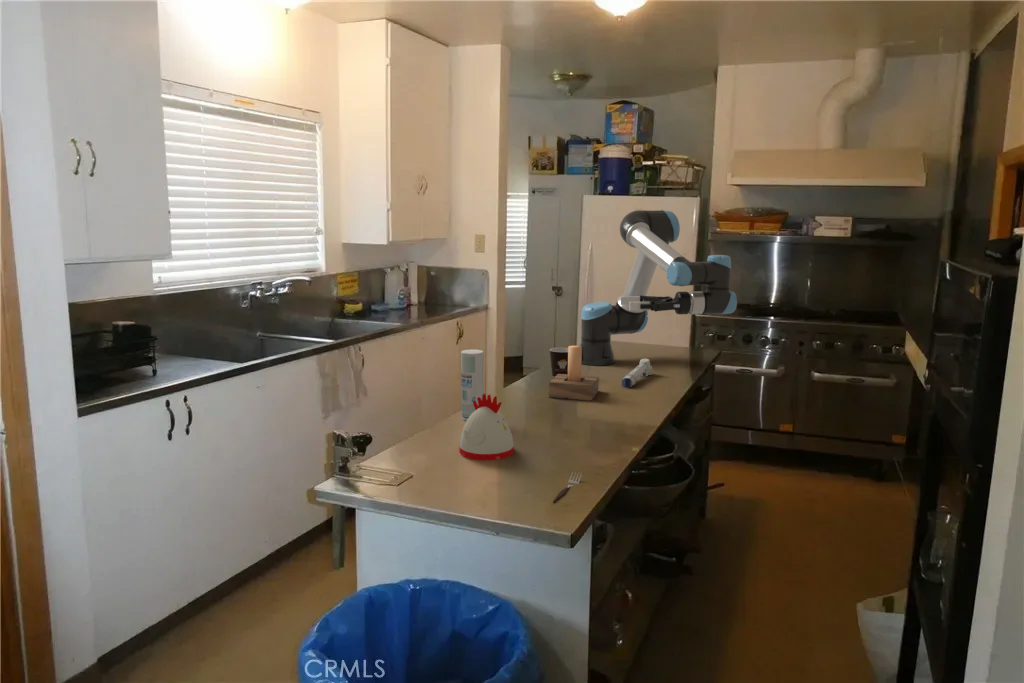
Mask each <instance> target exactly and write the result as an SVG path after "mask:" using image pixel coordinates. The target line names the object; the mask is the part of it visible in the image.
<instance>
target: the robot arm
mask: <svg viewBox="0 0 1024 683" xmlns="http://www.w3.org/2000/svg"><path fill="white" fill-rule="evenodd" d="M680 228H681V227H680V222H679V219H678V217H677V215H676V214H675V213H674V212H673V211H671V210H664V209H660V210H647V209H646V210H642V209H641V210H640V209H639V210H633V211H631V212H629V213H627V214H626V215H625V216H624V217H623V218H622V220H621V222H620V225H619V233H620V236H621V238H622V240H623V241H624V242H625V243H626V245H628V246H630V247H631V248H634V249H637V252H636V254H635V258H634V262H633V264H632V266H631V267H632V268H631V271H630V273H629V276H628V278H627V279H628V280H627V282H626V285H625V289H624V291H623V294H622V295H620V296H619V297H618V298H617V299H616V302H615V305H612V303H611V302H609V301H608V302H607V301H600V302H597V301H596V302H591V303H587V304H586V305H584V306H583V307H582V309H581V316H580V318H581V324H580V325H581V329H580V330H581V333H580V338H581V339H580V340H581V341H580V345H579V346H581V347H582V355H583V361H582V362H581V365H587V366H607V365H613V364H614V363H615V354H614V351H613V347H612V343H611V341H612V340H611V339H612V336H613V335H624V334H627V335H628V334H629V335H630V334H637V333H641V332H642V331H643V330H644V329H645V328H646V326H647V324H648V321H649V317H648V315H649V313H648V312H649V311H652V312H656V313H657V312H664V311H675V312H674V313H676V314H677V315H688V314H689V315H694V316H695V317H698V315H728V314H733V313H734V312H735V311H736V310H737V305H738V300H737V298H738V297H737V294H736V293H735V292H734V291H731V289H730V284H731V283H730V281H731V274H732V272H731V271H732V261H731V258H732V257H731V256H729V255H727V254H726V255H723V254H711V255H708V256H707V259H706V260H705V261H691V260H689V259H688V258H686V257H685V256H683V254H681V253H680V252H678V251H677V250H676V249H674V248H673V247H672V246H671V245H669V244H670V243H674V242H677V240H678V238H679V235H680V232H681V230H680ZM657 267H659V268H660V269H661V270H663V271H664V272H665V273H666V279H667V280H668V283H669V284H670V285H672V286H674V287H675V286H677V287H686V286H689V287H690V286H705V288H706V289H705V291H697V290H696V291H693V290H692V291H689V292H688V291H677V292H676V293H675V295H674V298H673V297H672V296H656V295H655V296H652V295H651V296H650V295H647V294H648V291H649V289H650V285H651V283H652V281H653V280H652V279H653V277H654V275H655V272H656V268H657ZM611 335H612V336H611ZM581 360H582V358H581Z"/></svg>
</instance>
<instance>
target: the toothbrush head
mask: <svg viewBox="0 0 1024 683" xmlns="http://www.w3.org/2000/svg"><path fill="white" fill-rule="evenodd" d="M652 371H653V366H652V365H651V361H650V359H648V358H640V361H639V364H638V365H637V366H636V367H635V368H634V369H632V370H631V371H630V372H629V373H627V374H625V375H624V376H623V378H622V379H621V382H620V383H621V386H622V387H623V388H624V387H630V388H632V387H633V386H635V385H636V384H637V381H638V380H639V378H640V377H643V376H648V375H651V376H652ZM641 375H643V376H641ZM648 377H649V376H648ZM632 385H633V386H632Z"/></svg>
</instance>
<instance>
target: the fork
mask: <svg viewBox="0 0 1024 683" xmlns="http://www.w3.org/2000/svg"><path fill="white" fill-rule="evenodd" d="M573 474H574V476H573ZM576 474H577V475H576ZM582 474H583V472H581V473H580V472H578V473H577V472H574V471H572V472H571V475H570V477H569V479H568V483H571V484H572V483H573V484H580V481H581V478H582ZM579 475H580V476H579ZM575 477H576V478H575ZM571 484H567V486H566V487H565V488H563V489H562V490H561V491H559V492H558V493H557V495H556V497H555V498H554V500H553V501H552V503H555V502H557V501H559V499H561V498H562V497H564V496H565V494H566V493H567V492H568V490H569V489H570V488H571V487H573V484H572V485H571Z"/></svg>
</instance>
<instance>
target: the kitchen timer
mask: <svg viewBox="0 0 1024 683" xmlns="http://www.w3.org/2000/svg"><path fill="white" fill-rule="evenodd" d="M497 397H498V396H496V395H495V396H494V397H493V399H492V396H491V394H488V395H486V393H483V396H482V400H481V398H480V397H478V398H477V399H478V405H477V403H476V401H473V405H474V407H475V410H476V411H474V412H473V413H472V414H471V415H470V417H469V418H468V420H467V421H465V423H464V425H463V430H462V432H461V436H460V440H459V446H458V447H459V449H458V450H459V451H458V452H459V454H460V455H461V456H462V457H464V458H467V459H470V460H477V461H496V460H503V459H506V458H508V457H510V456H512V455H514V452H515V446H514V438H513V434H512V431H511V428H510V424H509V422H508V421H507V420H506V418H505V417H504V415H503V414H502V412H500V411H499V410H500V408H501V405H502V401H500V402H498V400H497Z"/></svg>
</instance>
